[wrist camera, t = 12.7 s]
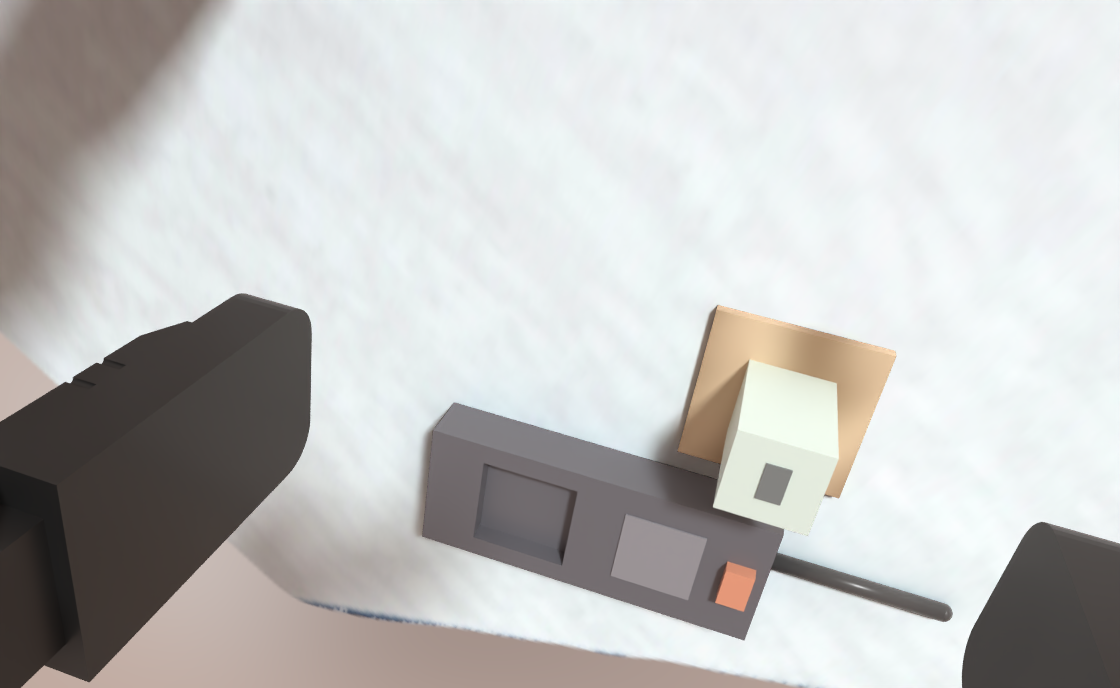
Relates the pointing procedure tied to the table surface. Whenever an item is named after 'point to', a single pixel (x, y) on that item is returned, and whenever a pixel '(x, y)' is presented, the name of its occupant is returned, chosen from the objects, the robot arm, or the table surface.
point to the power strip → (613, 524)
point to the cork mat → (790, 349)
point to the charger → (779, 448)
